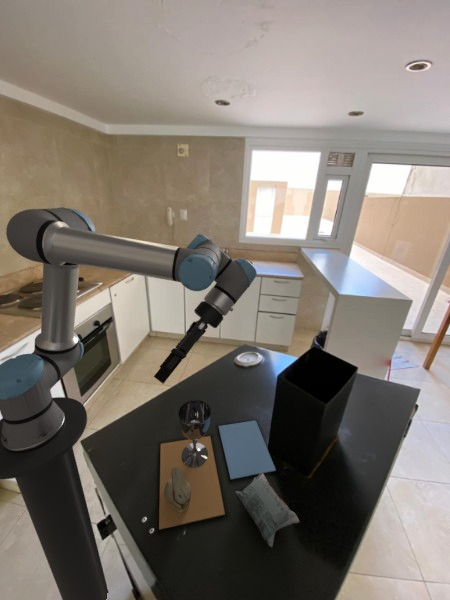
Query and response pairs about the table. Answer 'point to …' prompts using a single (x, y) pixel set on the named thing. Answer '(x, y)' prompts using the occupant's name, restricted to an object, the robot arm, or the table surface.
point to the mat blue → (245, 450)
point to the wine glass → (194, 431)
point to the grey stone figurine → (178, 491)
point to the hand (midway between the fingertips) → (161, 374)
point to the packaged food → (266, 508)
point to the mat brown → (200, 479)
